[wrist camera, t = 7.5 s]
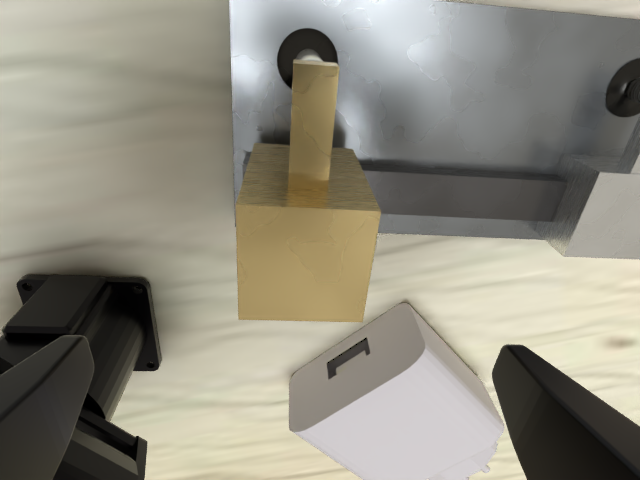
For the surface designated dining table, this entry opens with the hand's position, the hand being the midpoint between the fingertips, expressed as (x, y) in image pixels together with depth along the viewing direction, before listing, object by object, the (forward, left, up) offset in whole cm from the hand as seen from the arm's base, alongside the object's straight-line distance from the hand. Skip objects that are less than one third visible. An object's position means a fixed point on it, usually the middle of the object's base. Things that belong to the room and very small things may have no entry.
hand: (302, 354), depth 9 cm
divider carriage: (+2, 0, -11) cm, 11 cm away
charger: (-16, -9, -12) cm, 22 cm away
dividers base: (+2, -7, -12) cm, 14 cm away
